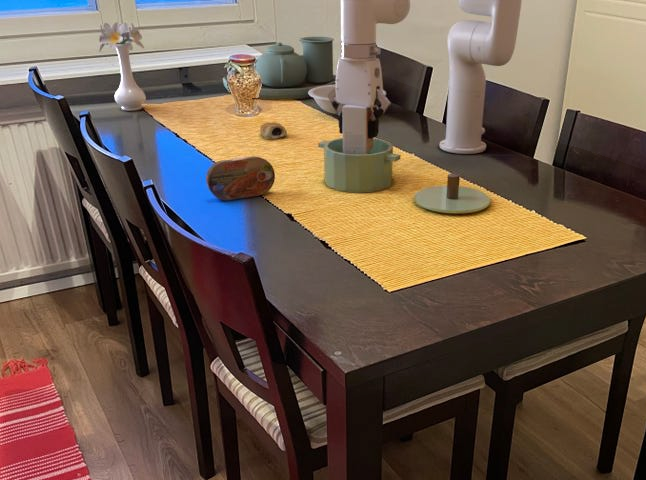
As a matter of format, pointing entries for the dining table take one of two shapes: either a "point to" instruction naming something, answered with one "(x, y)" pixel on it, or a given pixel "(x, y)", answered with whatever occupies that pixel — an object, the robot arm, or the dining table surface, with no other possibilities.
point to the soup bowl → (324, 97)
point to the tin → (240, 178)
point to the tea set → (295, 69)
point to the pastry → (272, 130)
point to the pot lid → (452, 197)
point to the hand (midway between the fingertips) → (358, 134)
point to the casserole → (358, 166)
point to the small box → (356, 130)
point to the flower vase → (124, 63)
